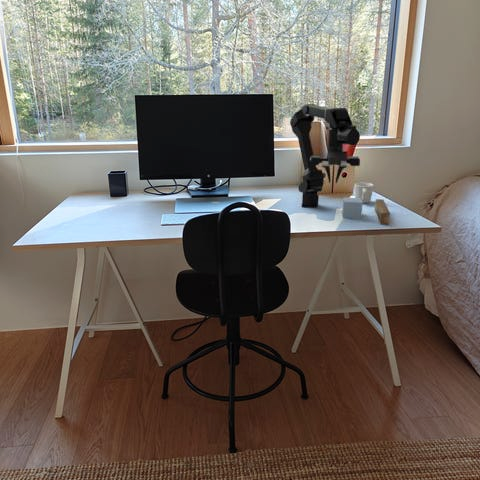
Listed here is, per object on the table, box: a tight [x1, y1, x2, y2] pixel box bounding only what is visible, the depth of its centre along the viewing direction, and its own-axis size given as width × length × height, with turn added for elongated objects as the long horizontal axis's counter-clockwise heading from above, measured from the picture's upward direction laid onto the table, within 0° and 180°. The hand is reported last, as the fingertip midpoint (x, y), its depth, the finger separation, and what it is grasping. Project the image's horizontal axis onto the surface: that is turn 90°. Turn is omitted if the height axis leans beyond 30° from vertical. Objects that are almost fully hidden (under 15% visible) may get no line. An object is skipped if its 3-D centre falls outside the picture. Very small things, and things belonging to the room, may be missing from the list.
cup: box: [354, 181, 375, 204], centre depth 187 cm, size 11×8×8 cm
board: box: [374, 198, 391, 226], centre depth 167 cm, size 3×20×4 cm, turn 169°
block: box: [341, 197, 363, 220], centre depth 169 cm, size 7×7×6 cm
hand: (333, 182), depth 167 cm, fingers open, 2 cm apart
